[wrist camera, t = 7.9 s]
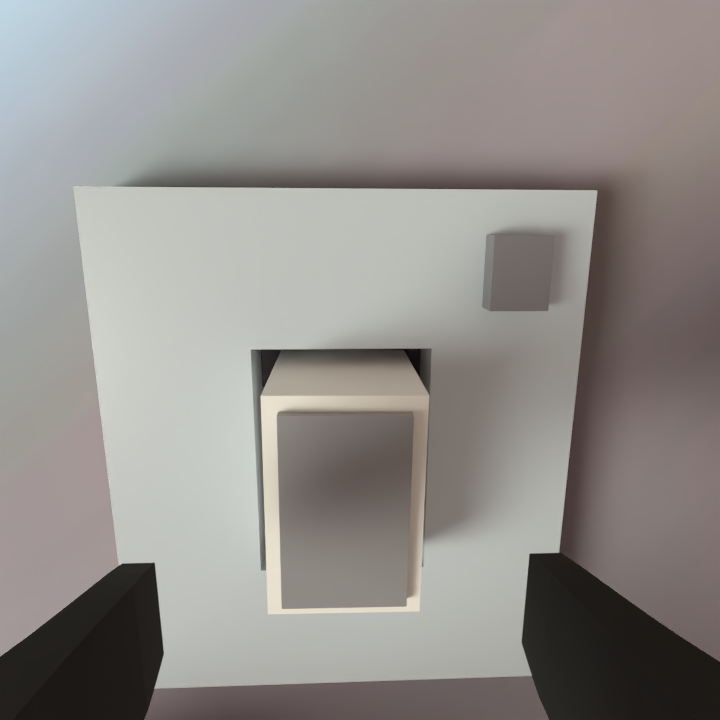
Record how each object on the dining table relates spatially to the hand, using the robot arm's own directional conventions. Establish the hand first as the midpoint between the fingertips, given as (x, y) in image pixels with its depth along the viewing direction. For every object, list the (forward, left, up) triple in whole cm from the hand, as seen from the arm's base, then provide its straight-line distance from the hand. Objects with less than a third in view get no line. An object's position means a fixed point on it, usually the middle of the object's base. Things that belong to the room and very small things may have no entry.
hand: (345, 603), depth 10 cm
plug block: (0, 0, -8) cm, 8 cm away
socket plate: (0, 0, -8) cm, 8 cm away
